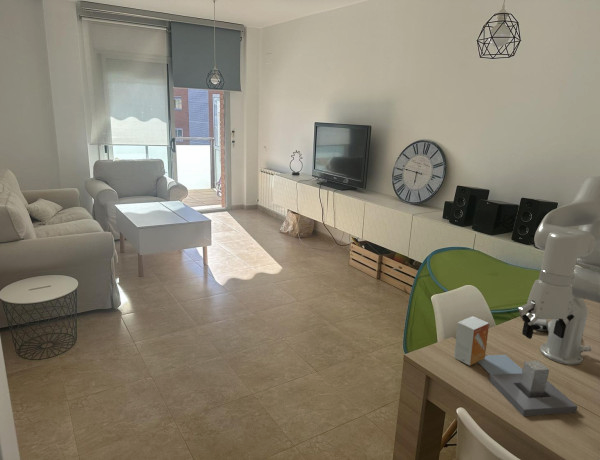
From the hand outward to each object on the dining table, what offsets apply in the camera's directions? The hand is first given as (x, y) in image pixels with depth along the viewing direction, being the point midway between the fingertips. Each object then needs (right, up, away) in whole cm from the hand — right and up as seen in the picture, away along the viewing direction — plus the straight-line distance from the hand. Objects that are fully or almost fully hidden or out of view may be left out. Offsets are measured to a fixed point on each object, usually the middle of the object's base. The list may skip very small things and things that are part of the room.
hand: (542, 336), depth 119 cm
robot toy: (+28, -10, +45) cm, 54 cm away
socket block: (0, -19, +5) cm, 19 cm away
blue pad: (-3, -15, +20) cm, 25 cm away
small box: (-11, -13, +23) cm, 29 cm away
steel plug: (0, -19, +5) cm, 19 cm away
